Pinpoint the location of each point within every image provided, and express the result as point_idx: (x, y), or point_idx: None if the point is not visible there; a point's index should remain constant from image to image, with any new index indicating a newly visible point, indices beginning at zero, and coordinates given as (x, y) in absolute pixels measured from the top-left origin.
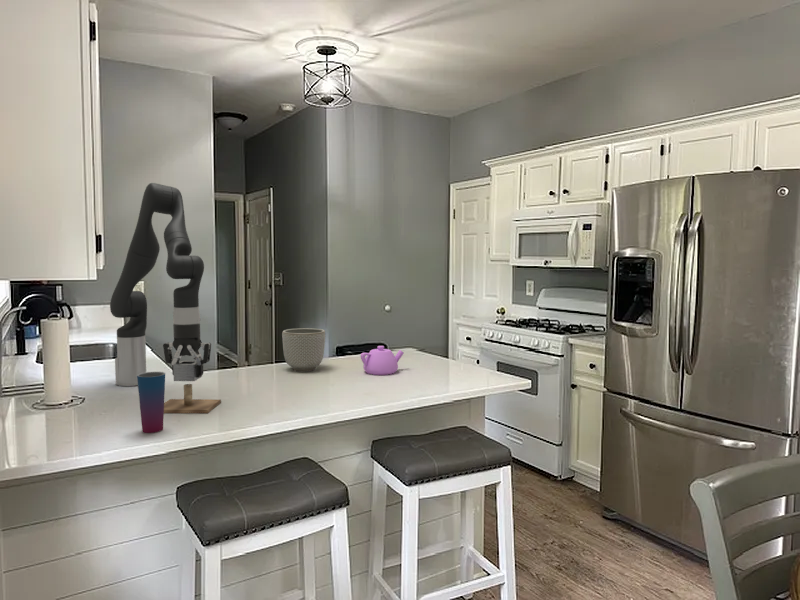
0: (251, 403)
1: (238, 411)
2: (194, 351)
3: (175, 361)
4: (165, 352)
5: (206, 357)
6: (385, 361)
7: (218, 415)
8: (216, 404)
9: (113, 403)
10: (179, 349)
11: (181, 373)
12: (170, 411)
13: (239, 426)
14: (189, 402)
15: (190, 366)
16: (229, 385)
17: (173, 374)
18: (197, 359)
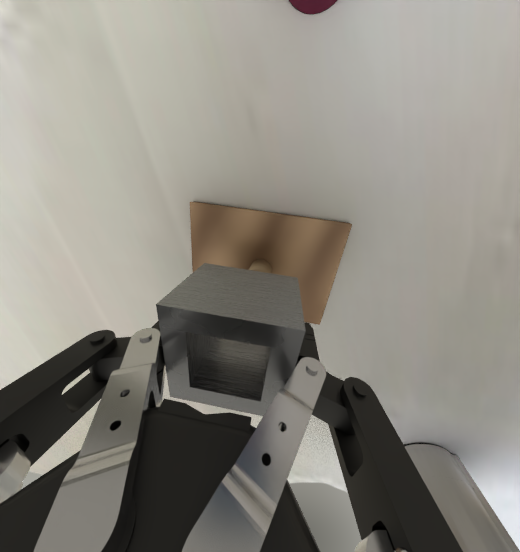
0: (128, 282)
1: (125, 214)
2: (90, 431)
3: (298, 377)
4: (415, 492)
5: (57, 360)
6: None
7: (158, 176)
8: (194, 269)
9: (468, 332)
10: (243, 501)
11: (255, 289)
12: (298, 216)
13: (39, 23)
14: (254, 262)
15: (187, 301)
16: (224, 409)
17: (299, 293)
18: (135, 359)
